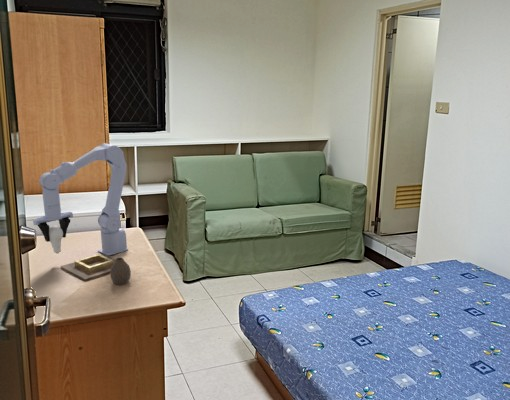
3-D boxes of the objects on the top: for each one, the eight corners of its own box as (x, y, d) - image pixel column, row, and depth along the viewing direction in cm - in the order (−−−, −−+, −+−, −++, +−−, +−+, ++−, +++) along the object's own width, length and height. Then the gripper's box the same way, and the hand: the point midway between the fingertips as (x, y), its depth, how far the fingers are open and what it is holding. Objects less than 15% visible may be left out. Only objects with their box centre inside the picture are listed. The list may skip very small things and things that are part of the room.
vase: (109, 280, 175) (107, 256, 173) (129, 277, 177) (128, 254, 175) (112, 287, 169) (110, 263, 166) (132, 284, 171) (131, 260, 169)
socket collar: (99, 258, 193) (99, 253, 193) (114, 265, 186) (114, 260, 186) (74, 266, 186) (74, 261, 185) (89, 273, 179) (88, 268, 178)
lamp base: (103, 255, 198) (103, 253, 198) (129, 267, 187) (128, 265, 187) (60, 268, 185) (60, 266, 185) (85, 281, 174) (85, 279, 174)
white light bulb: (59, 256, 186) (55, 228, 184) (45, 255, 187) (41, 228, 185) (69, 250, 192) (65, 223, 189) (55, 250, 193) (51, 223, 191)
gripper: (65, 199, 193) (68, 232, 196) (28, 206, 183) (32, 241, 186) (74, 202, 188) (77, 236, 192) (36, 209, 178) (40, 245, 181)
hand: (55, 239), depth 188 cm, fingers closed on white light bulb, 6 cm apart
